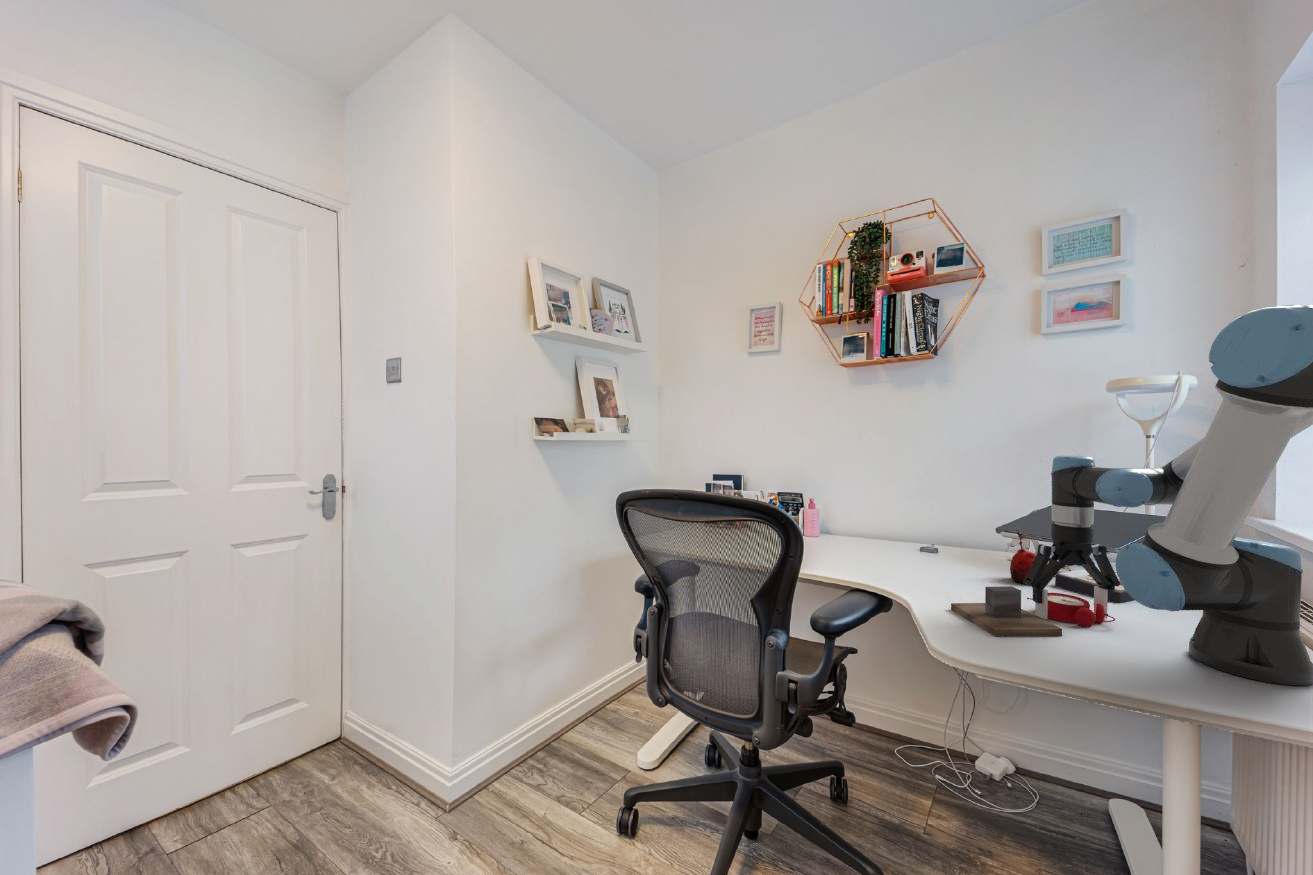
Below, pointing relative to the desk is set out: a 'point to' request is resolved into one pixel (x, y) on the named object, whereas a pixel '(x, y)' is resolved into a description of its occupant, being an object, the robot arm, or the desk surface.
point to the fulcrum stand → (1005, 614)
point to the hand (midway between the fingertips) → (1070, 616)
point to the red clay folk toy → (1021, 563)
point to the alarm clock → (1074, 610)
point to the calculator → (1088, 585)
